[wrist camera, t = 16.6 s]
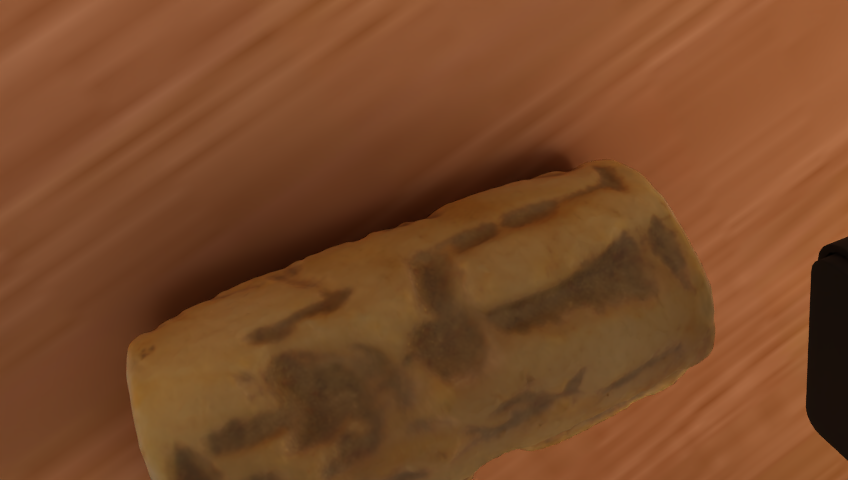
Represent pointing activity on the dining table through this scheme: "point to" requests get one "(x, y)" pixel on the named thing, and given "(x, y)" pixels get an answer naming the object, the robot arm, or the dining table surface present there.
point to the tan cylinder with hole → (431, 340)
